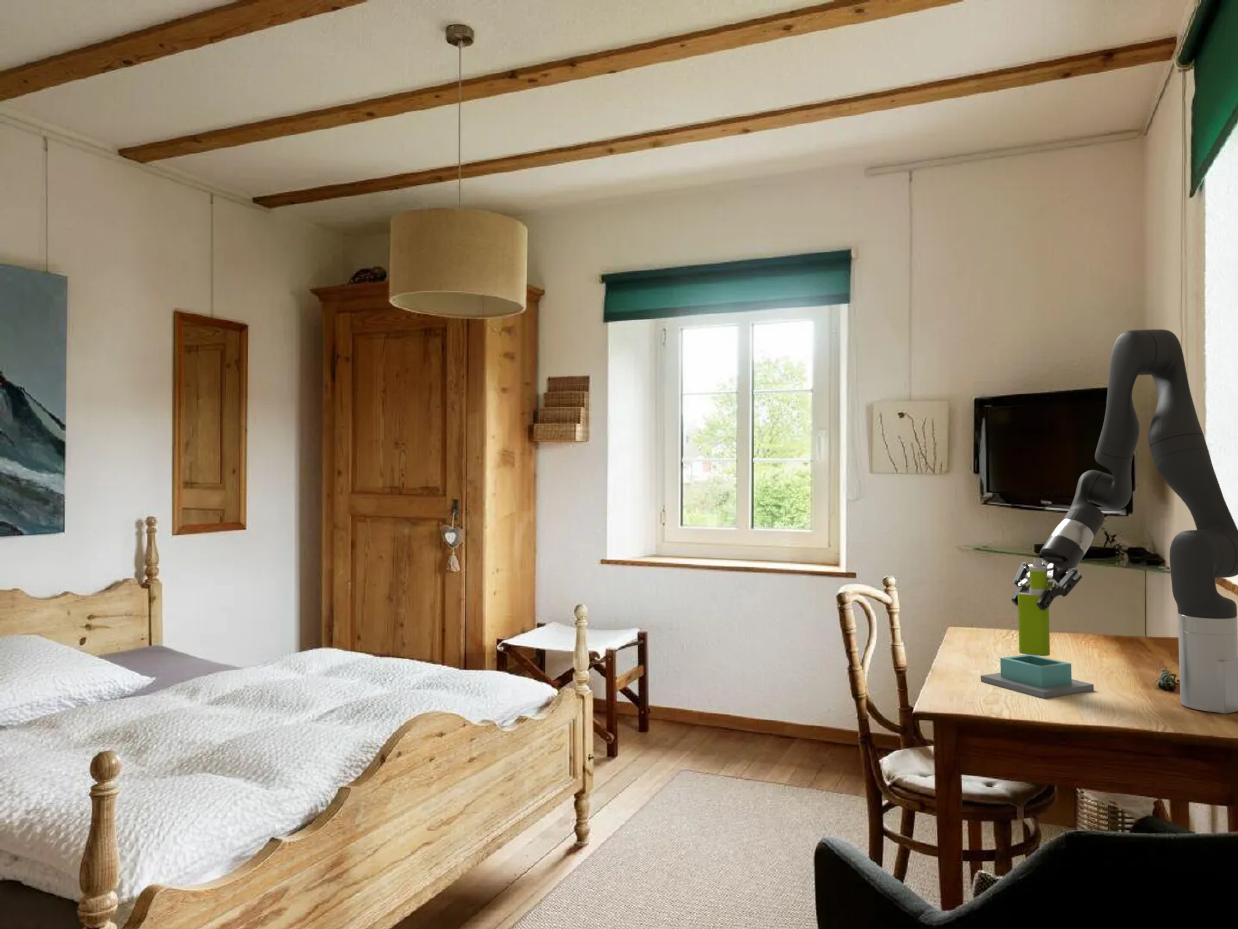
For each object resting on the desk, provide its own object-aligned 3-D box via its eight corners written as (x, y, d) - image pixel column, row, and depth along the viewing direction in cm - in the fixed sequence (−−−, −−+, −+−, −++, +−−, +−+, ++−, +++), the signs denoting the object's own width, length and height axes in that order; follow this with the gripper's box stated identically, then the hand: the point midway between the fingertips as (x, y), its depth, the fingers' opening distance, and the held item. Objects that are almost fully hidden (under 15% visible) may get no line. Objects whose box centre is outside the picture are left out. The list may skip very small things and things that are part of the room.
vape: (1048, 657, 175) (1046, 559, 176) (1017, 653, 179) (1015, 558, 179) (1052, 653, 178) (1050, 558, 178) (1021, 650, 182) (1019, 556, 182)
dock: (1093, 690, 174) (1093, 664, 174) (1043, 698, 168) (1042, 672, 169) (1028, 674, 189) (1028, 650, 189) (980, 681, 183) (980, 657, 183)
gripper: (1029, 531, 188) (990, 589, 184) (1087, 535, 175) (1047, 598, 171) (1047, 554, 190) (1009, 612, 186) (1106, 560, 177) (1066, 622, 173)
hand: (1027, 605), depth 178 cm, fingers closed on vape, 5 cm apart
